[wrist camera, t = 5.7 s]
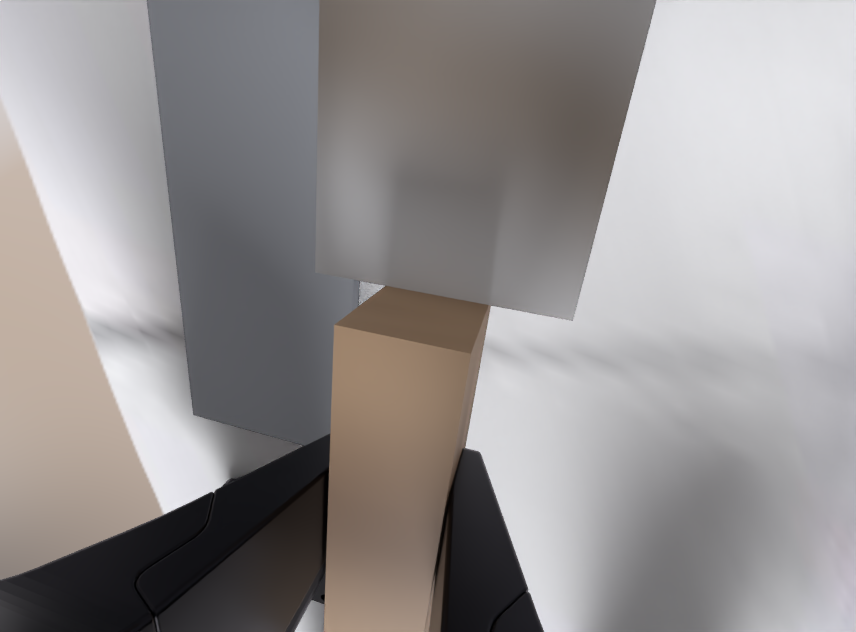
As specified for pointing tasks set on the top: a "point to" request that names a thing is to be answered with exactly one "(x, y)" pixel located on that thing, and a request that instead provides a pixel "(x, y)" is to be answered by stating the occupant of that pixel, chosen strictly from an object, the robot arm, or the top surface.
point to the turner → (446, 243)
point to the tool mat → (248, 210)
